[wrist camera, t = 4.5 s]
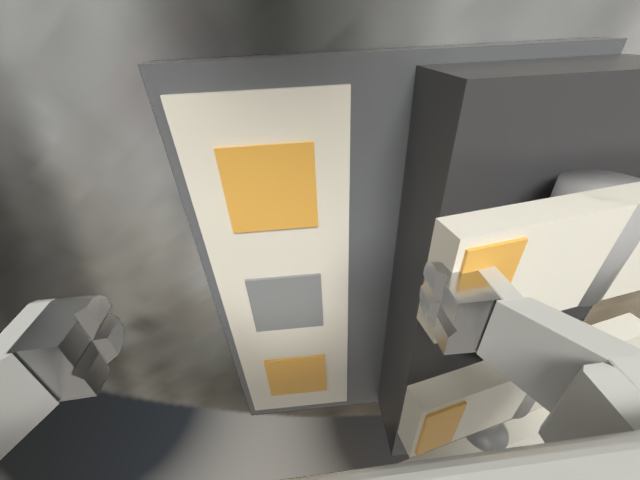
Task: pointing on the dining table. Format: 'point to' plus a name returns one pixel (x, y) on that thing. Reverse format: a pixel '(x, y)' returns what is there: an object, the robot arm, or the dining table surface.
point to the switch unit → (370, 191)
